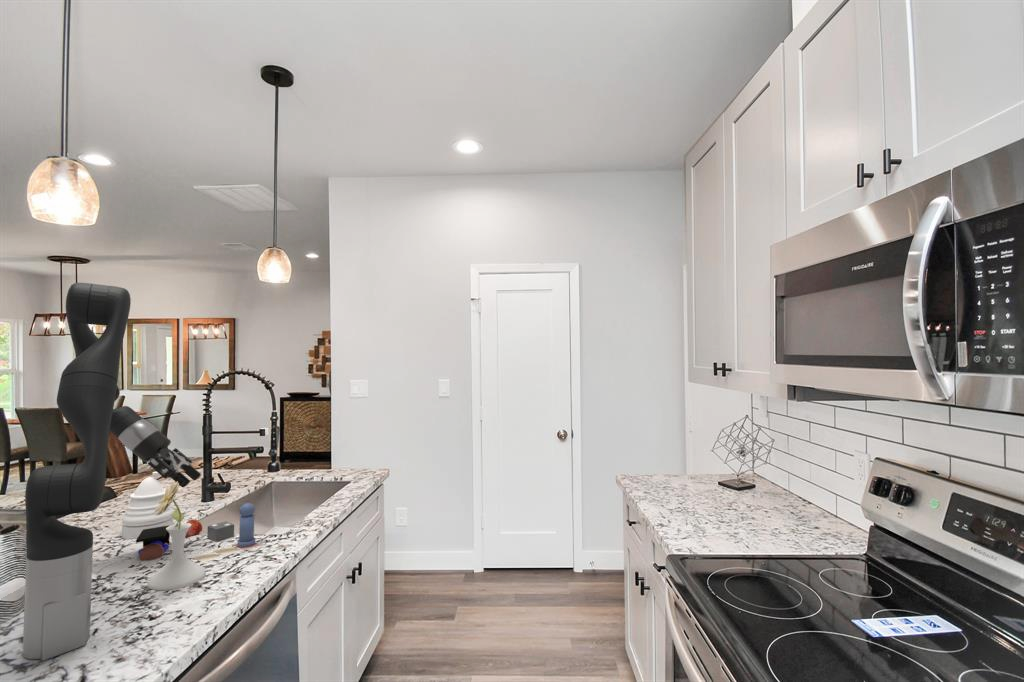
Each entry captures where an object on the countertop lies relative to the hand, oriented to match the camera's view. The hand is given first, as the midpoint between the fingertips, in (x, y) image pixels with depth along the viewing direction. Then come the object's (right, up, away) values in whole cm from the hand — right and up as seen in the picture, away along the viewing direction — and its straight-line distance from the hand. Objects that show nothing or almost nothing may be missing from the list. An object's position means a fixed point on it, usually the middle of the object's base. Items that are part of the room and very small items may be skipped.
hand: (192, 481), depth 133 cm
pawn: (+12, -19, +5) cm, 23 cm away
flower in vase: (+8, -20, -18) cm, 28 cm away
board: (+9, -21, +1) cm, 22 cm away
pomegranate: (-10, -21, +14) cm, 27 cm away
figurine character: (-11, -21, +1) cm, 24 cm away
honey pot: (-27, -22, +20) cm, 40 cm away
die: (+1, -21, +11) cm, 23 cm away
